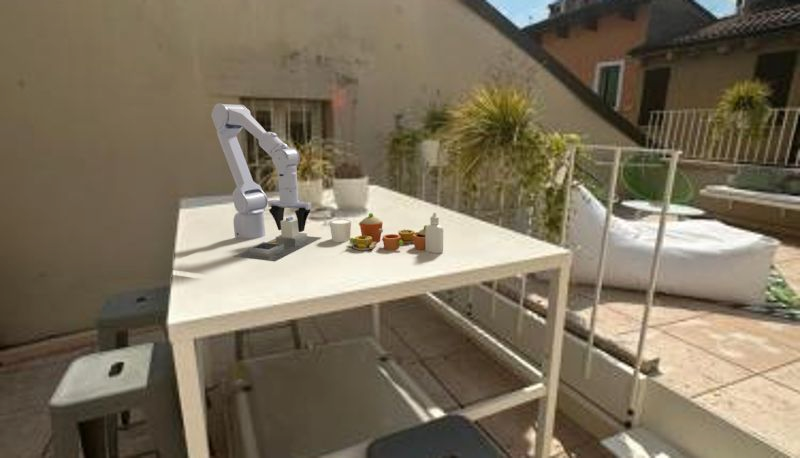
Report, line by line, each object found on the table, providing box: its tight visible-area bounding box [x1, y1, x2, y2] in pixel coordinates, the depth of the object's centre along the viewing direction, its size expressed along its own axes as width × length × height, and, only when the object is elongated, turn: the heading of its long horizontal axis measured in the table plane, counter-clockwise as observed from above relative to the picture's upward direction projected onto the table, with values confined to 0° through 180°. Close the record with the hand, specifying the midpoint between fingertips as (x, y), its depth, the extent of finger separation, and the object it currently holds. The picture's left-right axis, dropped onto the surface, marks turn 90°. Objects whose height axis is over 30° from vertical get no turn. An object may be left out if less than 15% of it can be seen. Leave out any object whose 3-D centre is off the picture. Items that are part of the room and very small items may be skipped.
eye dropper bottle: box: [424, 211, 444, 255], centre depth 127 cm, size 4×6×12 cm
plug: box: [280, 216, 301, 238], centre depth 135 cm, size 4×4×8 cm
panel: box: [232, 232, 322, 262], centre depth 130 cm, size 14×26×3 cm, turn 161°
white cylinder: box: [329, 219, 352, 243], centre depth 137 cm, size 7×7×7 cm
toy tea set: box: [349, 212, 428, 251], centre depth 135 cm, size 26×16×10 cm, turn 88°
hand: (291, 230), depth 135 cm, fingers open, 7 cm apart
